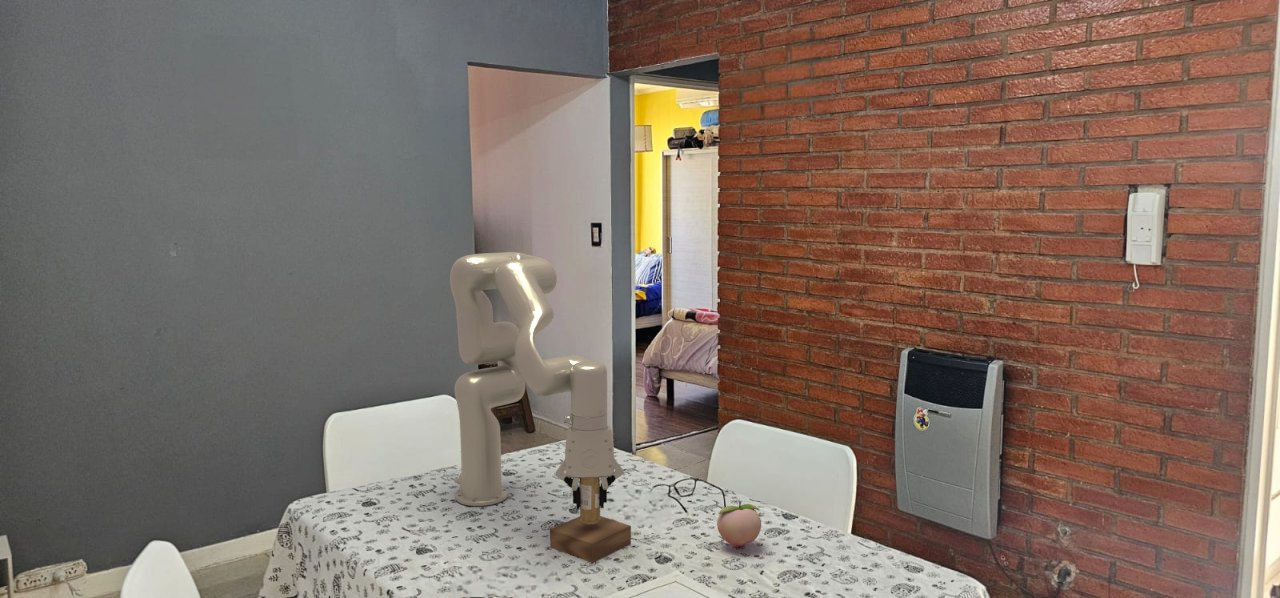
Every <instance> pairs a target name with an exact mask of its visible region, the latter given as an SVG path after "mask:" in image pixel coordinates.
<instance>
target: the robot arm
mask: <svg viewBox="0 0 1280 598" xmlns="http://www.w3.org/2000/svg"><path fill="white" fill-rule="evenodd" d="M557 276H558V275H557V273H556V270H555V268H554V266H553V264H552V263H551V262H550V261H548V260H547V259H545V258H542V257H539V256H535V255H531V254H528V253H527V254H526V253H522V252H519V251H518V252H515V251H508V252H506V251H505V252H504V251H503V252H488V253H487V252H486V253H473V254H466V255H464V256H461V257H459V258H458V259H457V260H456V261H455V262H454V263H453V265H452V266H451V270H450V274H449V285H450V289H451V294H452V296H453V299H454V304H455V309H456V324H457V325H456V327H457V328H456V329H457V340H458V341H457V342H458V343H457V344H458V351H459V353H458V354H459V356H460V358H461V361H462V362H463V363H465V364H467V365H472V366H473V365H483V364H490V363H496V362H497V366H494V367H485V368H481V369H475V370H471V371H468V372H464V373H463V374H462V375H460V376H459V377H458V378H457V379H456V381H455V384H454V395H455V396H454V397H455V400H456V406H457V409H458V416H459V417H458V418H459V429H460V432H459V436H460V465H461V466H460V467H461V469H460V470H461V473H460V474H459V475H458V477H456V478H454V483H456V484H457V485H459V490H457V491H456V493H455V500H456V502H457V503H459V504H461V505H464V506H469V507H471V506H472V507H484V506H491V505H492V506H493V505H495V504H499V503H502V502H503V501H505V500H507V498H508V497H509V490H508V489H507V487H504V486H503V485H502V481H503V480H502V452H501V451H502V448H501V447H502V445H501V444H502V443H501V426H500V425H501V424H500V422H499V419H497V417H496V416H495V414H494V413H493V411H492V408H496V407H500V406H505V405H509V404H512V403H516V402H519V401H520V400H521V399H522V398H523V397H524V394H525V392H526V385H527V388H529V389H530V390H531V391H532V393H534V394H535V395H536V396H540V397H548V396H554V395H557V394H563V393H570V414H569V415H567V416H563V423H564V424H569V427H568V428H567V432H566V437H565V451H564V459H563V461H562V463H561V464H560V465H559V466H558V468H557V470H556V471H555V477H556V478H557V479H559V480H561V481H562V482H564V483H565V484H566V485H567V486H568V487H569V488H570V489H571V490H572V505H576V510H580V490H579V482H580V478H598V477H600V509H604V507H605V505H604V504H607V503H608V489H609V487H610V486H611V485H612V484H613V483H614V482H615V481H616V480H617V479H619V478H620V477H622V476H624V469H623V468H622V466H621V465H620V464H619V462H618V461H617V459H616V458H615V451H614V450H615V448H614V438H613V432H612V428H611V426H609V425H608V369H607V366H606V365H605V364H604V363H602V362H599V361H595V360H590V359H587V358H586V357H584V356H581V355H578V354H571V355H565V356H557V357H553V358H547V359H543V358H542V357H541V355H540V353H539V351H538V349H537V346H536V344H535V336H536V335H537V334H539V333H541V331H543V330H544V329H545V328H547V327H548V326H549V325H550V323H551V322H552V321H553V319H554V317H555V316H554V315H555V312H554V308H552V305H551V304H550V302H549V300H548V298H547V297H546V295H548V294H550V293H551V292H553V291H554V290H555V289H556V286H557V283H558V277H557ZM485 290H498V292H499V295H500V296H501V298H502V300H503V302H504V303H505V306H506V307H507V308H508V311H509V313H510V314H511V316H512V318H513V320H514V322H515V324H514V323H512V322H511V321H496V322H494V314H493V313H494V311H493V304H492V302H491V300H490V299H489V297H488V295H486V293H485V292H484V291H485Z"/></svg>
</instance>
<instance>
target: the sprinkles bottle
mask: <svg viewBox="0 0 1280 598" xmlns="http://www.w3.org/2000/svg"><path fill="white" fill-rule="evenodd" d="M578 485H579V490H580V508H579V517H580V522H581V523H583V524H596V523H598V522H600V520H601V517H600V516H601V508H600V486H601V479H600V477H598V478H579V483H578Z"/></svg>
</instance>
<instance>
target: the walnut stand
mask: <svg viewBox="0 0 1280 598" xmlns="http://www.w3.org/2000/svg"><path fill="white" fill-rule="evenodd" d="M600 517H601V520H600V522H598V523H596V524H583V523H581V522H580V516H578V517H576V518H572V519H571V520H568V521H566V522H563V523H561V524H559V525H556V526H554V527H551V528H549V540H550V543H549V544H550V548H551V549H554V550H557V551H559V552H562V553H565V554H567V555H571V556H573V557H576V558H578V559H581V560H583V561H586V562H589V563H590V564H591V563H592V564H593V563H595V562H598V561H599V560H601V559H603V558H605V557H608V556H610V555H611V554H613V553H615V552H617V551H619V550H622V549H623V548H625V547H628V546H630V545H631V544H632V526H631V525H629V524H626V523H623V522H621V521H620V522H619V521H617V520H614V519H611V518H608V517H605V516H601V515H600Z"/></svg>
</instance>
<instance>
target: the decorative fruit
mask: <svg viewBox="0 0 1280 598" xmlns="http://www.w3.org/2000/svg"><path fill="white" fill-rule="evenodd" d="M738 503H739V504H738V505H737V506H736V505H729V506H728V505H727V506H726V507H723V508H722V509H721V510H720V511H719V512H718V513H717V515H718V518H717V521H716V526H717V530H718V533H719V534H720V536H721V538H722V539H723V541H725V542H726V543H728V544H729V545H731V546H734V547H736V548H739V547H740V546H741V547H742V546H746V545H749V544H751V543H752V542H754V541H755V540H756V539H757V538H758V537H759V535H760V532H761V528H762V520H761V517H760V515H759V514H758V512H757V511H760V509H759V507H758V506H756V505H754V504H750V503H746V504H745V503H744V504H742V501H738ZM756 510H757V511H756ZM741 547H740V548H741Z"/></svg>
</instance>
